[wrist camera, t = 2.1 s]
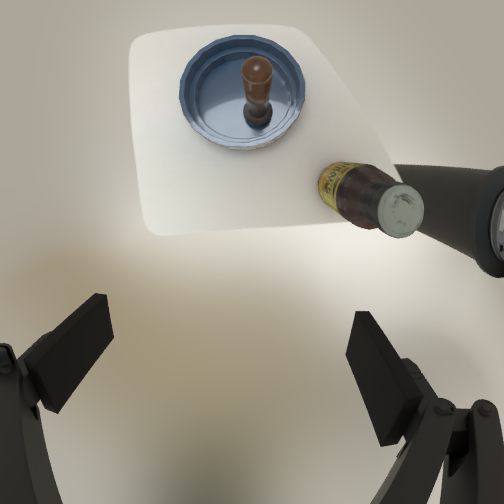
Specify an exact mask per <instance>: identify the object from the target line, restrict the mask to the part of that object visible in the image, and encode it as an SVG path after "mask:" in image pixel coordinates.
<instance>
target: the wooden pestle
mask: <svg viewBox="0 0 504 504" xmlns="http://www.w3.org/2000/svg"><path fill="white" fill-rule="evenodd" d="M241 74H242V79H243V84H244V90H245V95H246V100H247V102H246V104H245V105H244V108H243V115H244V118H245V119H246V121H247V122H249V123H250V124H252V125H256V126H260V125H264V124H266V123H267V122H269V120H270V119H271V117H272V115H273V109H272V106H271V104H270V103H269V96H270V89H271V82H272V76H273V67H272V64H271V63H270V61H268V60H267V59H266V58H264V57H261V56H253V57H250V58H248V59H247V60H246V61H245V62H244V63H243V65H242V67H241Z"/></svg>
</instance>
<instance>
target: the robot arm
mask: <svg viewBox="0 0 504 504" xmlns="http://www.w3.org/2000/svg"><path fill="white" fill-rule="evenodd" d="M488 237H489V243H490V247H491V250H492V252H493V254H494V255H495V256H496V257H497V258H498V259H500V260H502V261H504V189H503V190H501V191H500V193H499V194H498V195H497V197H496V199H495V201H494V203H493V206H492V208H491V212H490V217H489V224H488ZM113 338H114V335H113V330H112V324H111V319H110V313H109V307H108V301H107V295H105V294H98V293H95V294H94V295H92V296H91V297H90V298H89V299H88V300H87V301H86V302H84V304H82V305H81V306H80V307H79V308H78V309H76V310H75V311H74V312H73V313H72V314H71V315H70V316H68V317H67V318H66V319H65V320H64V321H63V322H62V323H61V324H60V325H59V326H57V327H56V328H55V329H54V330H53V331H52V332H49V333H47V334H44V335H42V336H41V337H40V338H39V339H38V340H37V341H36V342H35V343H34V344H33V345H32V347H30V348H28V349H27V350H26V352H24V353H23V354H22V355H21V356H20V357H19V358H18V359H17V360H16V357H15V354H14V352H13V349H12V347H11V346H10V345H9V344H6V343H0V504H63V503H62V500H61V497H60V494H59V491H58V488H57V485H56V482H55V479H54V475H53V472H52V468H51V464H50V460H49V456H48V452H47V449H46V444H45V439H44V434H43V429H42V423H41V418H40V411H39V408H38V406H37V403H38V402H39V400H41V402H42V404H43V406H44V408H45V409H47V410H49V411H52V412H54V413H57V414H58V413H59V411H60V410H61V409H62V407H63V406H64V404H65V403H66V402H67V400H68V399H69V397H70V396H71V395H72V393H73V392H74V390H75V389H76V388H77V386H78V385H79V383H80V382H81V381H82V379H83V378H84V377H85V375H86V374H87V373H88V371H89V370H90V368H91V367H92V366H93V365H94V363H95V362H96V361H97V359H98V358H99V357H100V355H101V354H102V353H103V351H104V350H105V349H106V347H107V346H108V345H109V344H110V342H111V341H112V339H113ZM346 357H347V360H348V362H349V365H350V367H351V370H352V372H353V375H354V377H355V380H356V382H357V385H358V387H359V390H360V393H361V395H362V398H363V400H364V403H365V405H366V408H367V410H368V413H369V416H370V419H371V421H372V424H373V427H374V430H375V432H376V435H377V438H378V441H379V443H380V446H381V447H383V446H389V445H394V444H398V442H399V440H400V439H401V437H402V436H404V438H405V440H406V443H405V444H404V446H403V447H402V449H401V450H400V452H399V453H398V455H397V459H396V461H395V463H394V465H393V467H392V468H391V470H390V472H389V474H388V476H387V477H386V479H385V481H384V483H383V484H382V486H381V487H380V489H379V491H378V493H377V494H376V496H375V497H374V499H373V500H372V502H371V503H370V504H427V501H428V499H429V497H430V494H431V492H432V490H433V487H434V484H435V482H436V480H437V477H438V474H439V472H440V469H441V466H442V463H443V460H444V465H443V478H442V489H441V497H440V504H504V442H503V436H502V430H501V424H500V419H499V414H498V411H497V408H496V406H495V405H494V404H493V403H491V402H490V401H488V400H484V399H481V400H477V401H475V402H474V404H473V405H472V407H471V409H457V408H456V407H455V405H454V404H453V403H452V402H451V401H449V400H447V399H444V398H438V396H437V395H436V393H435V392H434V390H433V389H432V387H431V386H430V384H429V383H428V382H427V380H426V379H425V377H424V375H423V374H422V373H421V371H420V369H419V368H418V366H417V365H416V364H415V363H413V362H412V361H411V360H410V359H408V358H405V359H401V358H400V357H399V356H398V354H397V352H396V351H395V349H394V348H393V346H392V345H391V343H390V342H389V340H388V338H387V337H386V335H385V334H384V332H383V331H382V330H381V328H380V327H379V325H378V324H377V322H376V321H375V319H374V318H373V316H372V315H371V313H370V312H369V311H356V312H355V317H354V321H353V326H352V330H351V334H350V339H349V343H348V347H347V351H346Z"/></svg>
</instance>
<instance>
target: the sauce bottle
mask: <svg viewBox="0 0 504 504" xmlns="http://www.w3.org/2000/svg"><path fill="white" fill-rule="evenodd" d="M318 185H319V192H320V195H321V197H322V199H323V201H324V202H325V203H326V204H327V205H328V206H330V207H331V208H332V209H334V210H335V211H336V212H338V213H339V214H340V215H341V216H342V217H344V218H345V219H346V220H348V221H350V222H351V223H352V224H354V225H356V226H358V227H361V228H365V229H369V230H370V229H374V228H379V229H380V230H381V231H382V232H384V233H385V234H387V235H389V236H391V237H394V238H404V237H407V236H410V235H411V234H413V233H414V231H416V229H417V228H418V227H419V226H420V224H421V222H422V219H423V212H424V205H423V201H422V198H421V196H420V194H419V193H418V192H417V191H416V190H415V189H414V188H413V187H412V186H409V185H407V184H405V183H401V182H396V181H395V180H394V179H393V178H392V177H390V176H389V175H387V174H386V173H384V172H383V171H381V170H380V169H378V168H377V167H375V166H373V165H368V164H358V163H346V162H338V163H334V164H332V165H330V166H329V167H327V168H326V169H325V170H324V171H323V173H322V174H321V176H320V179H319V181H318Z"/></svg>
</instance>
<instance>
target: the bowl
mask: <svg viewBox="0 0 504 504" xmlns="http://www.w3.org/2000/svg"><path fill="white" fill-rule="evenodd" d="M253 56H261V57H264V58H266V59H267V60H268V61H270V63H271V64H272V67H273V76H272V82H271V89H270V96H269V103H270V104H271V106H272V109H273V115H272V117H271V119H270V120H269V122H267V123H266V124H264V125H260V126H256V125H252V124H250V123H249V122H247V121H246V119H245V118H244V115H243V108H244V105H245V104H246V102H247V100H246V95H245V90H244V84H243V79H242V74H241V67H242V65H243V63H244V62H245V61H246V60H247V59H248V58H250V57H253ZM179 100H180V103H181V107H182V111H183V114H184V116H185V117H186V119H187V120H188V122H189V123H190V124H191V126H192V127H193V129H194V130H196V131H197V132H198V133H200V134H201V135H202V136H204V137H205V138H207V139H208V140H209V141H211V142H213V143H215V144H217V145H220V146H223V147H226V148H229V149H232V150H253V149H257V148H260V147H264V146H267V145H269V144H271V143H272V142H274V141H276V140H277V139H279V138H280V137H282V136H283V135H284V133H285V132H286V131H287V130H288V129H289V128H290V126H291V125H292V124H293V123H294V121H295V120H296V119H297V118H298V116H299V113H300V111H301V108H302V106H303V103H304V100H305V81H304V78H303V75H302V72H301V69H300V66H299V64H298V63H297V62H296V61H295V59H294V58H293V57H292V55H291V54H290V53H289V52H288V51H287V50H286V49H284V48H283V47H281V46H280V45H278V44H277V43H275V42H274V41H272V40H268V39H265V38H262V37H258V36H255V35H233V36H229V37H225V38H221V39H218V40H215V41H214V42H212V43H210V44H209V45H207V46H205V47H204V48H202V49H200V50H199V51H198V52H197V54H196V55H195V56H194V57H193V58H192V59H191V60H190V61H189V62H188V64H187V66H186V68H185V71H184V73H183V75H182V77H181V80H180V89H179Z"/></svg>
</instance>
